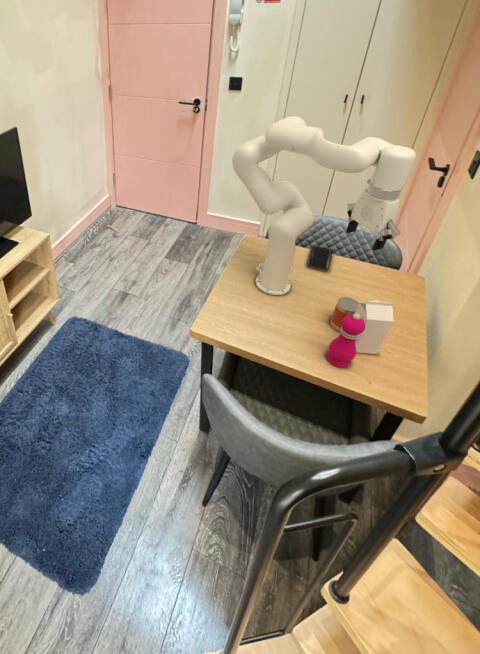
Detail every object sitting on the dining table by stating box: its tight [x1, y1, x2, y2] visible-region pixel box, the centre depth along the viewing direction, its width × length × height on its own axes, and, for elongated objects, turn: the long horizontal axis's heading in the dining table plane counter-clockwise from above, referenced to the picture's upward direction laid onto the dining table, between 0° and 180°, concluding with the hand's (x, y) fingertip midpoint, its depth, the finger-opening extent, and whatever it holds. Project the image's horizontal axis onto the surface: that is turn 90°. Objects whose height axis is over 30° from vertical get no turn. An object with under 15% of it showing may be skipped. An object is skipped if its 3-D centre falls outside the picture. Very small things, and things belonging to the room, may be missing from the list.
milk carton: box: [355, 299, 395, 355], centre depth 124 cm, size 7×7×19 cm
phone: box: [306, 245, 334, 272], centre depth 166 cm, size 8×1×15 cm
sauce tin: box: [329, 296, 360, 332], centre depth 134 cm, size 7×7×10 cm
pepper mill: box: [326, 314, 366, 368], centre depth 120 cm, size 7×7×20 cm
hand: (363, 240), depth 121 cm, fingers open, 9 cm apart
